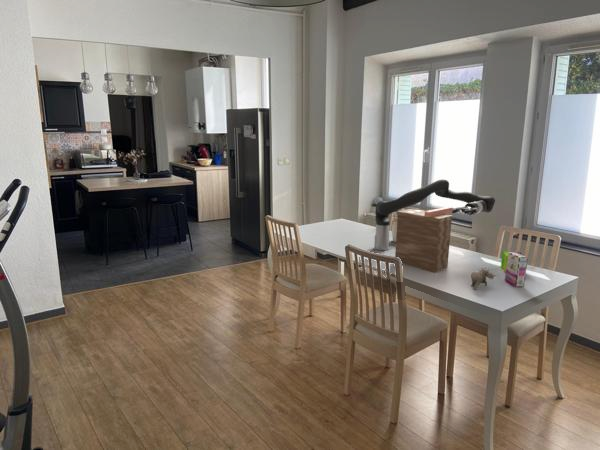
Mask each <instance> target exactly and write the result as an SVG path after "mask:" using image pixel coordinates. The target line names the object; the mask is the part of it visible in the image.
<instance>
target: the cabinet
mask: <svg viewBox="0 0 600 450" xmlns="http://www.w3.org/2000/svg"><path fill="white" fill-rule="evenodd" d="M425 211H426V210H422V209H413V208H409V209H405V210H402V211H401V210H397V211H396V215H397V235H396V243H395V255H394V258H395V257H399V258H400V259H401V261H402V263H403V264H402V265H405V266H409V267H411V268H412V267H413V268H417V269H420V270H423V271H428V272H432V273H437V272H441V271H443V270H446V269H448V265H449V256H450V255H449V253H450V242H451V233H452V232H451V231H452V230H451V229H452V220H454V215H450V214H442V215H437V216H433V217H424V215H425Z"/></svg>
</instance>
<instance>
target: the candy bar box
mask: <svg viewBox="0 0 600 450" xmlns="http://www.w3.org/2000/svg"><path fill="white" fill-rule="evenodd" d="M507 252H508V258H507V267H506V272H505V277H504V282H507V283H508V284H510V285H512V286H514V287H515V288H524V287H525V283H526V282H525V281H526V274H527V273H526V272H527V266H528V258H529V257H527V256H526V255H524V254H523V255H524V256H523V255H521V254H522V253H521V254H519V253H520V252H519V253H517V252H518V251H517V252H516V251H507Z"/></svg>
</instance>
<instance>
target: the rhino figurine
mask: <svg viewBox="0 0 600 450" xmlns="http://www.w3.org/2000/svg"><path fill="white" fill-rule="evenodd" d="M489 271H490V270H489V269H487V268H486V267H485V268H482V267H481V268H480V269H479V268H478V269H477V270H474V271H472V272H471V273H470V278H471V285H470V287H472V288H473V291H478V289H477V288H478V287H479V286H480V285H481V284H484V287H487V286H488V282H487V278H488V279H492V280H493V279H494V278H495V277H496V276H497V273H496V274H493V273H491V272H489Z"/></svg>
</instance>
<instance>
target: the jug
mask: <svg viewBox="0 0 600 450" xmlns="http://www.w3.org/2000/svg"><path fill="white" fill-rule="evenodd" d="M402 210H406V209H405V208H402V209H400V211H402ZM397 219H398V216H397V217H393V218H392V221H393V223H392V225H391V229H390V230H391V237H392V242H393V243H395V244H396V235H397Z"/></svg>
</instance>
